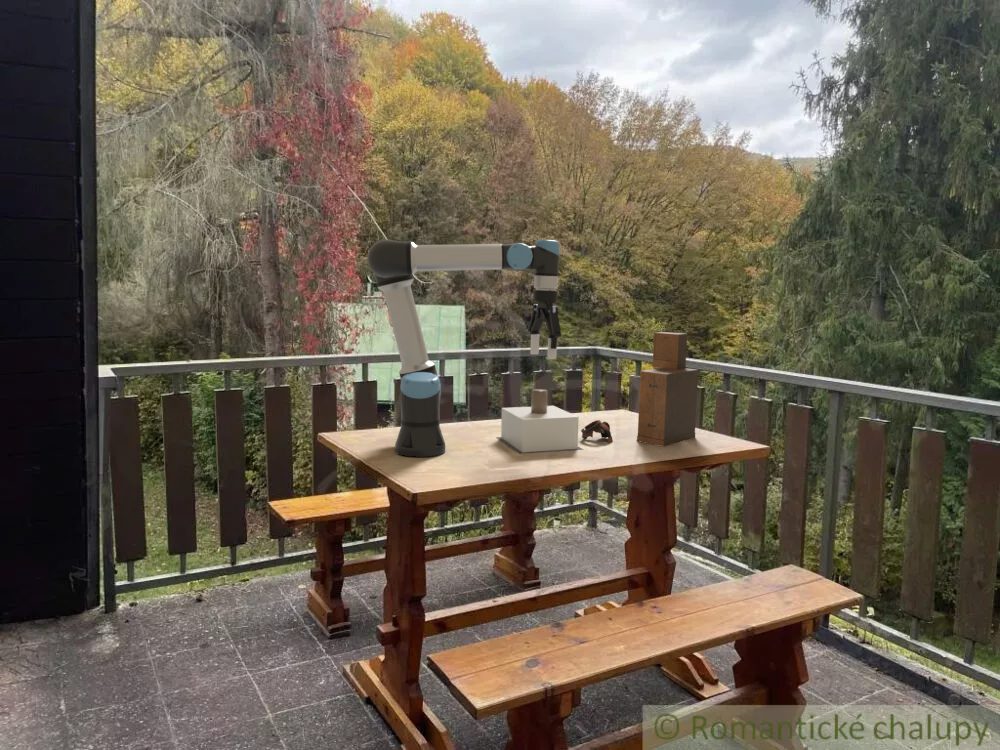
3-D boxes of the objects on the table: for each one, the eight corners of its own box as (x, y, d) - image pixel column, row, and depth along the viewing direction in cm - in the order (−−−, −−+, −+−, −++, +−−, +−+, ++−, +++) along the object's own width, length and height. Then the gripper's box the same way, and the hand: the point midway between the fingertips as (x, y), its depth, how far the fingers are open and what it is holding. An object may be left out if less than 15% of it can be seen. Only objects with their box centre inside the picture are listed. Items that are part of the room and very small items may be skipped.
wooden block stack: (659, 431, 257) (663, 331, 253) (695, 438, 247) (700, 334, 243) (627, 439, 244) (631, 334, 239) (663, 446, 234) (668, 337, 229)
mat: (519, 455, 219) (519, 453, 219) (495, 439, 241) (495, 437, 241) (583, 451, 226) (583, 449, 226) (554, 435, 247) (555, 433, 247)
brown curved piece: (609, 448, 232) (596, 426, 232) (585, 457, 238) (573, 435, 237) (622, 432, 242) (610, 411, 241) (599, 441, 248) (587, 420, 247)
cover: (522, 452, 221) (523, 396, 218) (501, 438, 240) (502, 386, 238) (577, 448, 226) (579, 394, 224) (552, 435, 245) (554, 384, 243)
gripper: (574, 291, 221) (570, 361, 224) (540, 288, 244) (538, 352, 247) (551, 290, 218) (548, 361, 221) (519, 288, 241) (517, 352, 244)
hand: (542, 356), depth 234 cm, fingers open, 13 cm apart
